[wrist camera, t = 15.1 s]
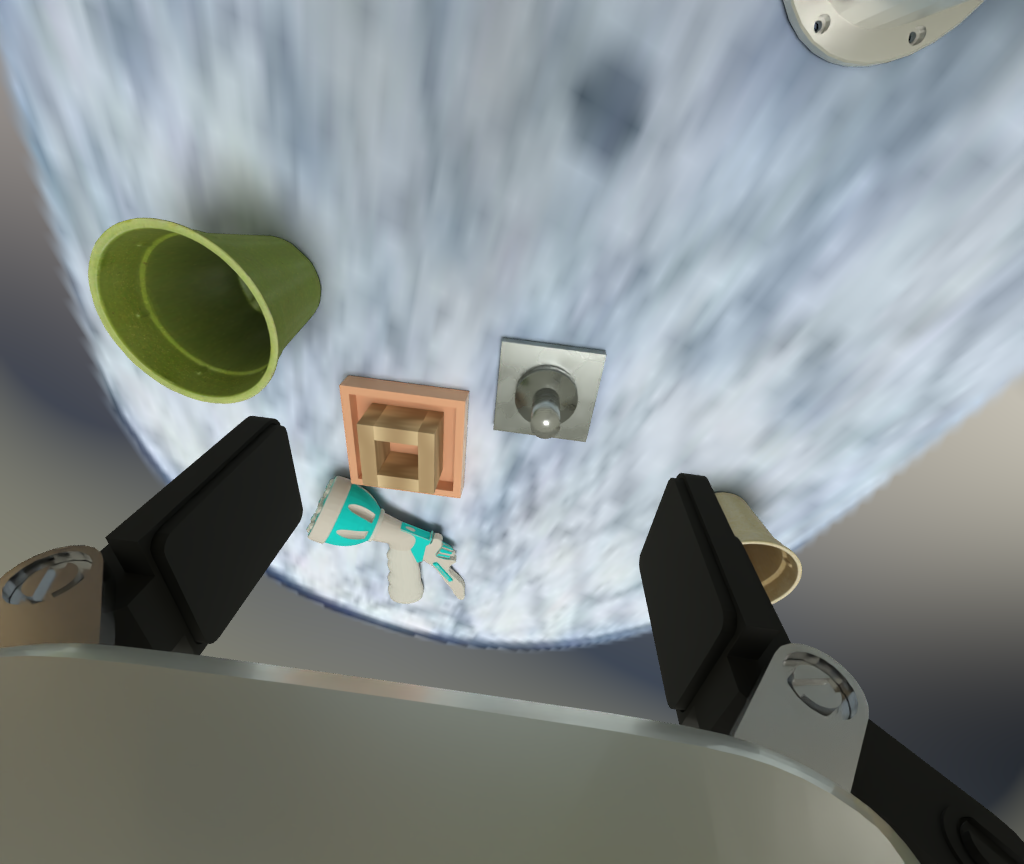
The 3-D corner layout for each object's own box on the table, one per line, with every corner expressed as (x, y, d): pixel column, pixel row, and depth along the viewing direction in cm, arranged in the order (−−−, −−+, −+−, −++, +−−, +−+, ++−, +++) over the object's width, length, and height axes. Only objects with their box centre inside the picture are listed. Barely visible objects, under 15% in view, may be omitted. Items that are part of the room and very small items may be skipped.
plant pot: (290, 174, 33) (182, 181, 23) (373, 318, 38) (314, 372, 29) (178, 238, 36) (42, 267, 26) (270, 363, 41) (185, 424, 32)
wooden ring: (444, 411, 42) (434, 434, 39) (442, 469, 46) (433, 494, 42) (372, 402, 42) (356, 423, 39) (377, 460, 46) (362, 484, 43)
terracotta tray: (469, 391, 41) (465, 401, 40) (463, 485, 48) (460, 498, 46) (348, 375, 41) (339, 385, 40) (358, 471, 48) (351, 483, 46)
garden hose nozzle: (461, 625, 55) (471, 525, 43) (320, 617, 54) (287, 511, 41) (466, 575, 61) (476, 473, 48) (338, 567, 59) (314, 460, 47)
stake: (605, 350, 38) (613, 383, 33) (585, 436, 43) (589, 477, 37) (503, 337, 38) (494, 367, 33) (494, 424, 43) (485, 463, 38)
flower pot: (666, 544, 50) (685, 611, 42) (673, 479, 45) (697, 542, 38) (753, 544, 49) (788, 612, 41) (771, 477, 44) (814, 541, 36)
